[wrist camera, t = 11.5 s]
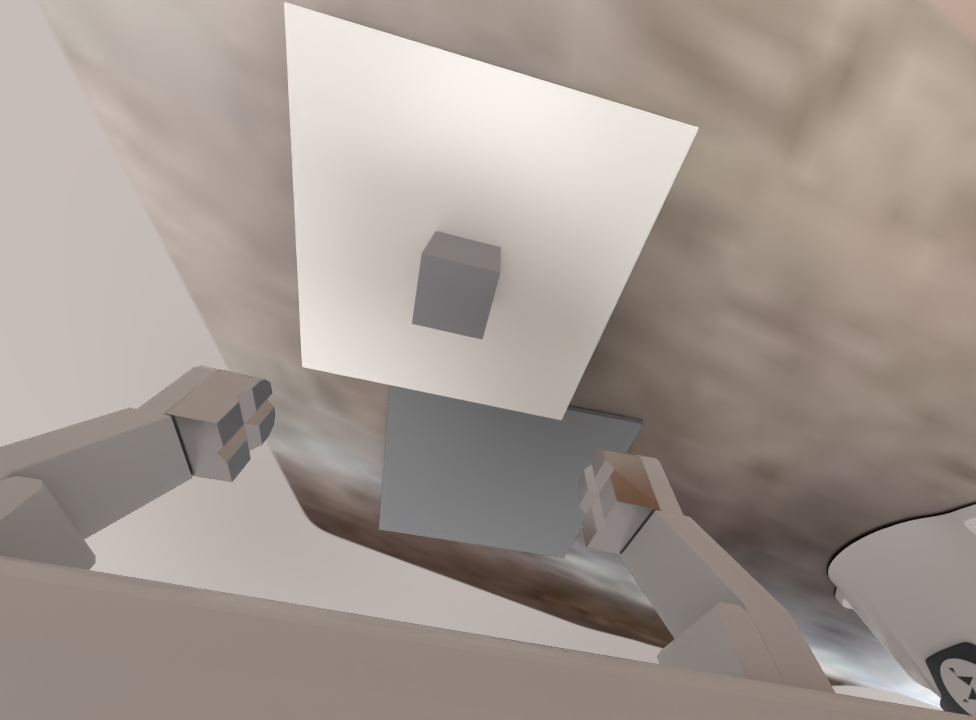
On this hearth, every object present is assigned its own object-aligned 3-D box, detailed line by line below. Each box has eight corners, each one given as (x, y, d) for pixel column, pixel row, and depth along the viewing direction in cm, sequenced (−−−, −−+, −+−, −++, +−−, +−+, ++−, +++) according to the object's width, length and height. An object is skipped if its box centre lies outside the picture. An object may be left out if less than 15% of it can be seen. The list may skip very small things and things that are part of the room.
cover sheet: (692, 127, 17) (750, 127, 13) (560, 414, 26) (570, 464, 22) (291, 5, 15) (217, -37, 11) (306, 361, 24) (269, 405, 21)
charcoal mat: (641, 419, 29) (643, 424, 29) (562, 553, 40) (563, 557, 39) (392, 372, 27) (390, 376, 27) (380, 524, 38) (378, 529, 38)
